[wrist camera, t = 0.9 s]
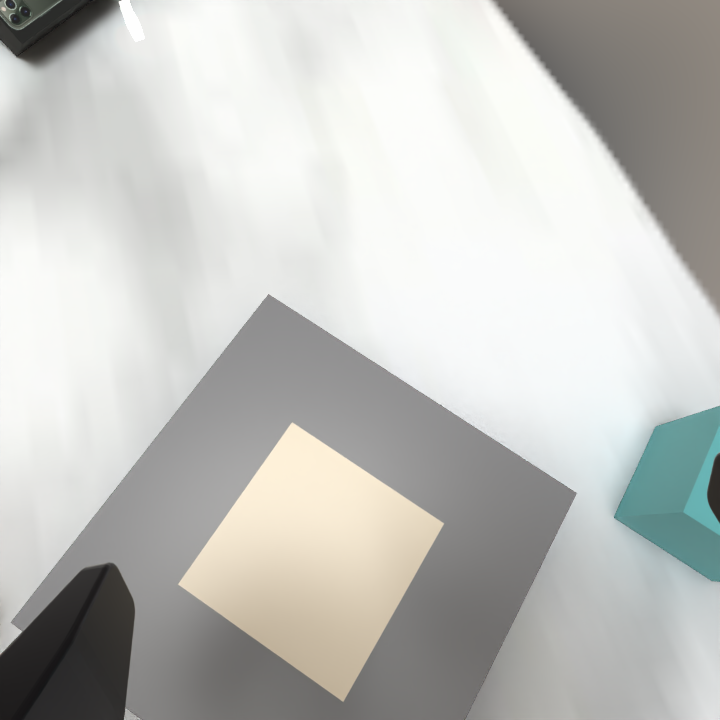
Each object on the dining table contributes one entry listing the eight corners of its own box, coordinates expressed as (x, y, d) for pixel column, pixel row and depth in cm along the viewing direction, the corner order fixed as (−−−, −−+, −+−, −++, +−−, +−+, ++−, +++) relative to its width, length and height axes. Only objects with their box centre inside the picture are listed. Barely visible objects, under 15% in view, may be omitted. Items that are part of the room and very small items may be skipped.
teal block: (711, 581, 25) (805, 590, 21) (612, 517, 26) (682, 511, 21) (747, 485, 27) (843, 473, 22) (654, 427, 27) (728, 402, 23)
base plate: (373, 871, 21) (379, 898, 19) (29, 617, 22) (8, 623, 21) (561, 495, 26) (578, 492, 24) (270, 307, 27) (268, 292, 25)
